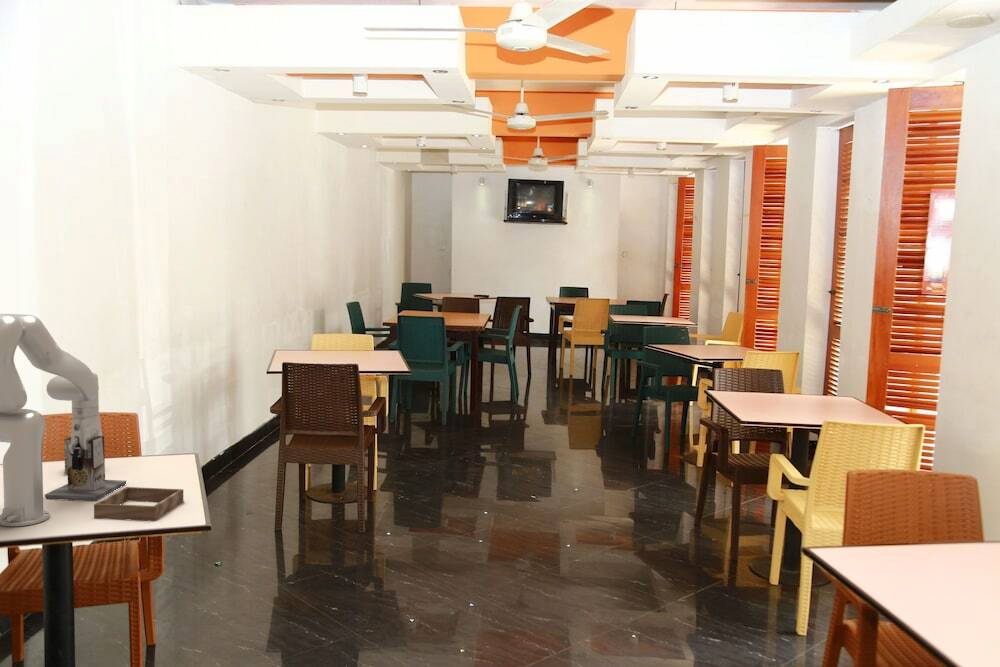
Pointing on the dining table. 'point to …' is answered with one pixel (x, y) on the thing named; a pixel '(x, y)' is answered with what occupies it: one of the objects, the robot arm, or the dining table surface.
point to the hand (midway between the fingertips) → (86, 465)
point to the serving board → (85, 492)
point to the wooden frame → (138, 512)
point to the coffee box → (88, 466)
